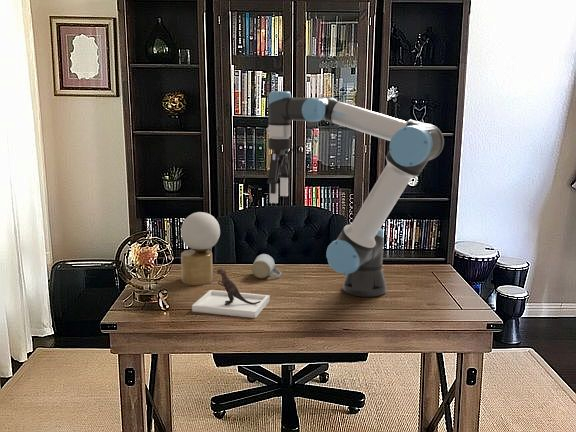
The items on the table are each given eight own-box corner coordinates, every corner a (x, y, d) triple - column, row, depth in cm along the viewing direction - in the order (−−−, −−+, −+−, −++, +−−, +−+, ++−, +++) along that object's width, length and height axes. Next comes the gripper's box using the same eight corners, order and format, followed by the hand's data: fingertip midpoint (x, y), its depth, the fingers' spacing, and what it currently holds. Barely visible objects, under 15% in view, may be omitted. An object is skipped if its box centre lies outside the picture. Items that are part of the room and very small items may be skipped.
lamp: (198, 271, 245) (197, 207, 240) (228, 277, 238) (227, 211, 232) (172, 281, 232) (170, 214, 227) (202, 288, 225) (201, 218, 220)
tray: (269, 301, 212) (269, 295, 212) (255, 318, 197) (255, 311, 197) (210, 295, 217) (210, 289, 217) (192, 311, 202) (191, 305, 202)
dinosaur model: (217, 266, 206) (263, 270, 206) (216, 300, 209) (261, 303, 209) (215, 270, 202) (262, 274, 202) (214, 305, 205) (260, 308, 205)
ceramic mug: (250, 278, 236) (251, 258, 234) (255, 272, 244) (255, 253, 242) (279, 280, 234) (279, 260, 233) (282, 274, 242) (282, 254, 241)
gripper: (278, 134, 228) (278, 192, 233) (258, 140, 205) (258, 205, 209) (298, 135, 227) (297, 193, 231) (280, 141, 203) (280, 206, 207)
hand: (279, 199), depth 220 cm, fingers open, 13 cm apart
